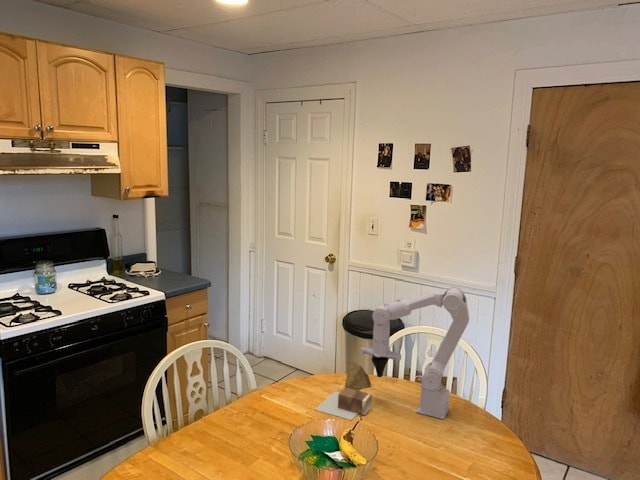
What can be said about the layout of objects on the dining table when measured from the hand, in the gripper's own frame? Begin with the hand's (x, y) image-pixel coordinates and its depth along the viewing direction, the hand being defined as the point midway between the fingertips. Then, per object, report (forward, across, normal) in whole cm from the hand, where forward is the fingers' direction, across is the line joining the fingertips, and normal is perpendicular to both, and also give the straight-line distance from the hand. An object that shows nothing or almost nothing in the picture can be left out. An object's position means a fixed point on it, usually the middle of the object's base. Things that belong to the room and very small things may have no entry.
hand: (379, 376), depth 172 cm
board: (+9, -10, -9) cm, 17 cm away
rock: (+10, -11, +7) cm, 16 cm away
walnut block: (+7, 0, -10) cm, 12 cm away
